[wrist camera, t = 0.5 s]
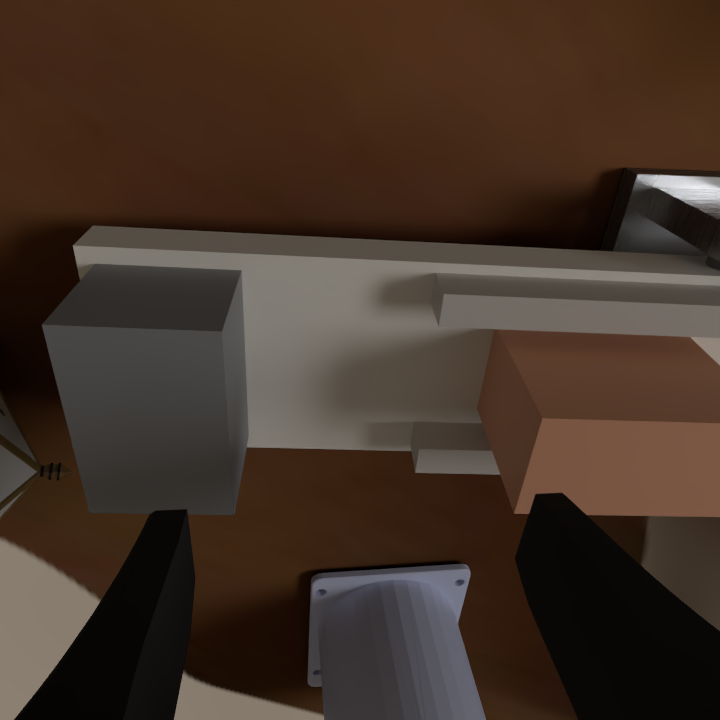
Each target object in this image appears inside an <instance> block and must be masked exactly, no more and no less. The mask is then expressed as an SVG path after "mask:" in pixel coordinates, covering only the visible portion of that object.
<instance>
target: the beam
mask: <svg viewBox="0 0 720 720" xmlns="http://www.w3.org/2000/svg"><path fill="white" fill-rule="evenodd" d="M73 249H74V254H75V259H76V263H77V268H78V273H79V278H80V281H79V283H78V284H77V285H76V286H75V287H74V288H73V289H72V291H71V292H70V293H69V294H68V295H67V296H66V298H65V299H64V300H63V301H62V302H61V303H60V304H59V306H58V307H57V308H56V309H55V310H54V311H53V312H52V314H51V315H50V316H49V317H48V318H47V319H46V320H45V322H44V323H43V324H42V328H43V332H44V336H45V340H46V343H47V347H48V351H49V355H50V359H51V363H52V367H53V371H54V375H55V379H56V383H57V387H58V391H59V395H60V399H61V402H62V406H63V410H64V414H65V418H66V422H67V426H68V430H69V434H70V438H71V442H72V446H73V450H74V454H75V458H76V461H77V465H78V469H79V473H80V477H81V481H82V485H83V489H84V493H85V497H86V501H87V505H88V509H89V513H139V514H151V513H152V512H154V511H157V510H179V509H187V512H188V514H205V515H234V513H235V508H236V503H237V497H238V492H239V486H240V481H241V475H242V470H243V465H244V459H245V454H246V448H247V447H262V448H304V449H347V450H389V451H412V457H413V462H414V468H415V473H454V474H500V472H499V469H498V466H497V464H496V461H495V458H494V455H493V452H492V449H491V447H490V444H489V441H488V438H487V435H486V432H485V430H484V427H483V424H482V421H481V418H480V415H479V413H478V410H477V408H478V403H479V398H480V394H481V389H482V385H483V380H484V376H485V371H486V366H487V362H488V357H489V353H490V348H491V344H492V339H493V335H494V330H495V329H503V330H528V331H554V332H579V333H604V334H630V335H655V336H681V337H691V338H692V339H693V340H694V341H695V342H696V343H697V344H698V345H699V346H700V347H701V348H702V349H703V350H704V351H705V352H706V353H707V354H708V355H709V356H710V357H711V358H712V359H714V360H715V361H716V362H717V363H718V364H719V365H720V262H719V261H717V260H715V259H714V258H712V257H711V256H709V255H708V256H692V255H672V254H652V253H632V252H612V251H592V250H572V249H552V248H532V247H512V246H492V245H472V244H452V243H432V242H412V241H392V240H372V239H352V238H332V237H312V236H292V235H272V234H252V233H232V232H212V231H192V230H172V229H152V228H132V227H112V226H92V227H91V228H90V229H89V230H88V231H87V232H86V233H85V234H84V235H83V236H82V237H81V238H80V239H79V240H78V241H77V242H76V243H75V244H74V245H73Z"/></svg>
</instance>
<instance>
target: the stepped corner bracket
mask: <svg viewBox="0 0 720 720" xmlns="http://www.w3.org/2000/svg"><path fill="white" fill-rule="evenodd" d="M600 251H612V252H632V253H652V254H672V255H692V256H708V255H709V256H711V257H712V258H714V259H715V260H717V261H719V262H720V172H718V171H693V170H668V169H642V168H625V169H624V172H623V176H622V179H621V182H620V185H619V189H618V192H617V195H616V199H615V202H614V205H613V208H612V212H611V215H610V218H609V222H608V225H607V228H606V231H605V235H604V238H603V241H602V245H601V248H600Z"/></svg>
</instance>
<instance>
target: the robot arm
mask: <svg viewBox="0 0 720 720" xmlns="http://www.w3.org/2000/svg"><path fill="white" fill-rule="evenodd" d="M515 560H516V564H517V567H518V571H519V574H520V578H521V581H522V585H523V588H524V591H525V594H526V598H527V601H528V604H529V607H530V609H531V611H532V614H533V616H534V619H535V621H536V623H537V626H538V628H539V630H540V633H541V635H542V637H543V639H544V642H545V644H546V646H547V649H548V651H549V653H550V655H551V658H552V660H553V662H554V665H555V667H556V669H557V671H558V674H559V676H560V678H561V681H562V683H563V685H564V687H565V690H566V692H567V694H568V696H569V699H570V701H571V703H572V706H573V708H574V710H575V713H576V715H577V718H578V720H720V631H719V630H717V629H716V628H715V627H714V626H712V625H711V624H710V623H708V622H707V621H706V620H704V619H703V618H702V617H701V616H699V615H698V614H697V613H696V612H695V611H693V610H692V609H691V608H690V607H688V606H687V605H686V604H685V603H684V602H682V601H681V600H680V599H679V598H678V597H676V596H675V595H674V594H672V593H671V592H670V591H669V590H668V589H667V588H666V587H665V586H663V585H662V584H661V583H660V582H659V581H658V580H656V579H655V578H654V577H653V576H652V575H651V574H650V573H648V572H647V571H646V570H645V569H644V568H643V567H642V566H641V565H640V564H638V563H637V562H636V561H635V560H634V559H633V558H632V557H631V556H630V555H629V554H627V553H626V552H625V551H624V550H623V549H622V548H621V547H620V546H619V545H618V544H617V543H616V542H615V541H613V540H612V539H611V538H610V537H609V536H608V535H607V534H606V533H605V532H604V531H603V530H602V529H601V528H600V527H599V526H598V525H596V524H595V523H594V522H593V521H592V520H591V519H590V518H589V517H588V516H587V515H586V514H585V513H584V512H583V511H582V510H581V509H580V508H579V507H577V506H576V505H575V504H574V503H573V502H572V501H571V500H570V499H569V498H568V497H567V496H566V495H564V494H563V493H543V494H535V497H534V500H533V503H532V506H531V509H530V513H529V516H528V519H527V522H526V525H525V528H524V531H523V535H522V538H521V541H520V544H519V547H518V550H517V553H516V556H515ZM469 578H470V570H469V567H468V566H467V565H465V564H450V565H434V566H419V567H404V568H389V569H374V570H359V571H344V572H329V573H319V574H316V575H314V576H313V577H312V579H311V592H310V620H309V648H308V675H307V679H308V684H309V685H310V686H312V687H321V686H322V694H323V707H324V720H486V719H485V715H484V712H483V708H482V705H481V702H480V698H479V695H478V691H477V688H476V685H475V681H474V678H473V675H472V671H471V668H470V664H469V661H468V658H467V654H466V651H465V648H464V644H463V641H462V637H461V634H460V631H459V627H458V621H459V617H460V613H461V609H462V605H463V601H464V598H465V594H466V590H467V586H468V582H469ZM194 586H195V572H194V563H193V555H192V546H191V538H190V529H189V521H188V512H187V509H179V510H157V511H154V512H152V513H151V514H150V515H149V517H148V519H147V521H146V523H145V525H144V527H143V529H142V531H141V533H140V535H139V537H138V539H137V541H136V543H135V545H134V546H133V548H132V550H131V552H130V554H129V555H128V557H127V559H126V561H125V562H124V564H123V566H122V568H121V569H120V571H119V573H118V574H117V576H116V578H115V579H114V581H113V582H112V584H111V586H110V587H109V589H108V590H107V592H106V594H105V595H104V597H103V598H102V600H101V602H100V603H99V605H98V606H97V608H96V610H95V611H94V613H93V614H92V616H91V617H90V619H89V620H88V622H87V623H86V625H85V626H84V627H83V629H82V630H81V632H80V633H79V634H78V636H77V637H76V639H75V640H74V642H73V643H72V645H71V646H70V648H69V649H68V650H67V652H66V653H65V655H64V656H63V657H62V659H61V660H60V661H59V663H58V664H57V666H56V667H55V668H54V670H53V671H52V672H51V674H50V675H49V676H48V678H47V679H46V680H45V681H44V683H43V684H42V686H41V687H40V688H39V689H38V691H37V692H36V693H35V694H34V696H33V697H32V698H31V699H30V701H29V702H28V703H27V704H26V706H25V707H24V708H23V710H22V711H21V712H20V713H19V714H18V716H17V717H16V718H15V719H14V720H174V716H175V710H176V705H177V700H178V695H179V689H180V684H181V679H182V674H183V669H184V663H185V658H186V653H187V647H188V642H189V637H190V631H191V621H192V610H193V599H194Z"/></svg>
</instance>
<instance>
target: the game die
mask: <svg viewBox="0 0 720 720" xmlns="http://www.w3.org/2000/svg"><path fill="white" fill-rule="evenodd" d="M71 472H72V471H71V470H69V469H67V468H66V467H64V466H62V465H61V463H59V464H53V463H51V465H46V466H42V465H41V464H40V462H39V460H38V459H37V457H36V455H35V453H34V451H33V449H32V448H31V446H30V444H29V442H28V440H27V438H26V437H25V435H24V433H23V431H22V429H21V427H20V426H19V424H18V422H17V420H16V418H15V416H14V414H13V413H12V411H11V409H10V407H9V405H8V403H7V402H6V400H5V398H4V396H3V394H2V392H1V391H0V520H1V519H2V518H3V517H4V516H5V515H6V513H7V512H8V511H9V510H10V509H11V508H12V507H13V506H14V505H15V504H16V502H17V501H18V500H19V499H20V498H21V497H22V496H23V495H24V494H25V493H26V491H27V490H28V489H29V488H30V487H31V486H32V485H33V484H34V483H35V482H36V480H37V479H38V478H39V477H41V476H44V477H47V478H49V480H51V478H54V479H57V480H59V478H61V477H63V476H65V475H67V474H69V473H71Z"/></svg>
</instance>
